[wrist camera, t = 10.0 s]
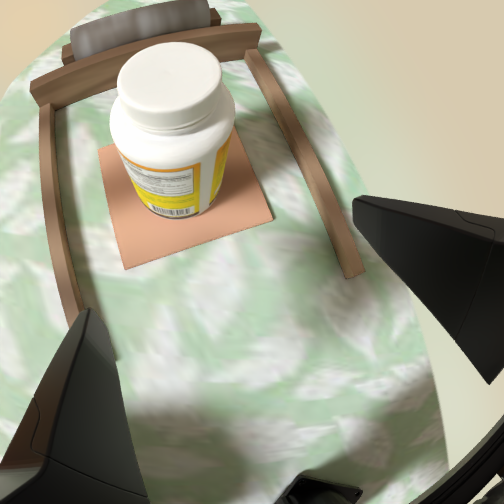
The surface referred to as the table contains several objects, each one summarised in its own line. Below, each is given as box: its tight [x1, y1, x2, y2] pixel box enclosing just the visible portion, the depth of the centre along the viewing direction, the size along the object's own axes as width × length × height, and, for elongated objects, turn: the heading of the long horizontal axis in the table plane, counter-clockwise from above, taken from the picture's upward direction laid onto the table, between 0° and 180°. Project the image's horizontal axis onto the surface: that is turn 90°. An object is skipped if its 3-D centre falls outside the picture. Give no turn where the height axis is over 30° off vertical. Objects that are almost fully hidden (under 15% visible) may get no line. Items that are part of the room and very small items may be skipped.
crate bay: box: [30, 0, 366, 329], centre depth 17 cm, size 25×19×5 cm
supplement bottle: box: [110, 42, 235, 220], centre depth 14 cm, size 6×6×10 cm
